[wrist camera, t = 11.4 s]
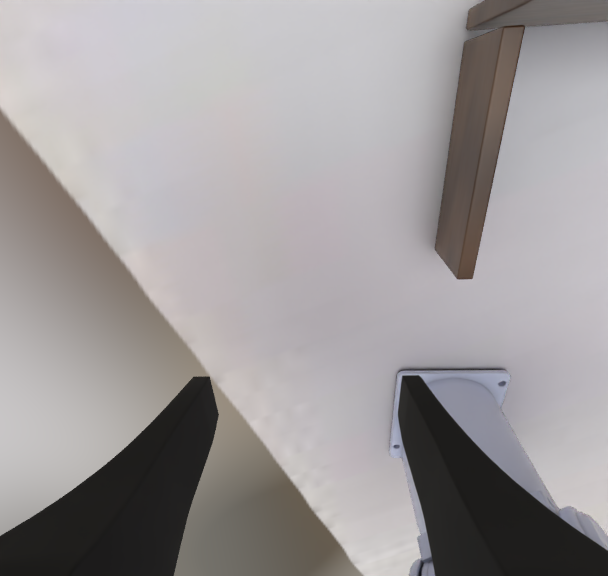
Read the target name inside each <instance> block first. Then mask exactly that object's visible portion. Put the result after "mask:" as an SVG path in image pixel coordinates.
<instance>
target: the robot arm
mask: <svg viewBox="0 0 608 576" xmlns="http://www.w3.org/2000/svg"><path fill="white" fill-rule="evenodd" d="M510 378H511V376H510V374H509V373H508V371H506V370H424V371H401V372H399V373H398V374H397V380H396V389H395V399H394V408H393V418H392V427H391V437H390V446H389V453H390V456H391V457H393V458H402V460H403V464H404V469H405V473H406V477H407V482H408V486H409V491H410V495H411V500H412V504H413V509H414V513H415V517H416V522H417V525H418V528H419V531H420V534H421V535H420V536H418V537H417V539H418V544H419V548H420V553H421V557H422V558H421V559H418V560H416V561H415V562H414V563H413V565H412V567H411V569H410V573H409V576H608V536H607V535H606V533H605V532H604V531H603V530H602V528H601V527H600V526H599V525H598V524H597V522H596V521H595V520H594V519H593V518H592V517H590V516H589V515H586V514H584V513H582V512H579V511H577V510H576V509H575V508H573V507H571V506H568V507H565V508H562V509H559V508H558V507H557V505H556V504H555V502H554V500H553V499H552V497H551V495H550V493H549V492H548V490H547V488H546V486H545V485H544V483H543V481H542V480H541V478H540V476H539V474H538V473H537V471H536V469H535V467H534V466H533V464H532V462H531V460H530V459H529V457H528V455H527V454H526V452H525V450H524V448H523V447H522V445H521V443H520V441H519V440H518V438H517V436H516V435H515V433H514V431H513V429H512V428H511V426H510V424H509V422H508V421H507V419H506V417H505V416H504V414H503V412H502V410H501V407H502V404H503V400H504V397H505V394H506V391H507V388H508V385H509V381H510ZM501 381H502V382H501ZM218 415H219V414H218V410H217V406H216V402H215V397H214V393H213V389H212V385H211V380H210V377H193V378H192V379H191V380H190V381H189V383H188V384H187V385H186V386H185V387H184V388H183V389H182V390H181V391H180V393H179V394H178V395H177V396H176V397H175V398H174V399H173V400H172V401H171V402H170V404H169V405H168V406H167V407H166V408H165V409H164V410H163V411H162V412H161V413H160V414H159V415H158V416H157V417H156V418H155V420H153V422H152V423H151V424H150V425H149V426H148V427H146V428H145V430H144V431H142V432H141V433H140V434H139V435H138V436H137V437H136V438H135V439H134V440H133V441H132V442H131V443H130V444H129V445H128V446H127V447H126V448H124V450H122V451H121V452H120V453H119V454H118V455H116V456H115V457H114V458H113V459H112V460H111V461H110V462H108V463H107V464H106V465H105V466H103V467H102V468H101V469H99V470H98V471H97V472H96V473H94V474H93V475H92V476H90V477H89V478H88V479H86V480H85V481H84V482H82V483H81V484H80V485H78V486H77V487H76V488H74V489H73V490H72V491H70V492H69V493H67V494H66V495H65V496H63V497H62V498H60V499H59V500H58V501H56V502H54V503H53V504H51V505H50V506H48V507H47V508H45V509H44V510H42V511H41V512H39V513H37V514H36V515H34V516H33V517H31V518H30V519H28V520H26V521H25V522H23V523H21V524H20V525H18V526H16V527H15V528H13V529H11V530H10V531H8V532H6V533H4V534H3V535H1V536H0V576H174V572H175V567H176V563H177V558H178V554H179V550H180V545H181V541H182V537H183V533H184V529H185V525H186V521H187V517H188V513H189V510H190V507H191V504H192V500H193V497H194V495H195V492H196V489H197V486H198V483H199V480H200V477H201V474H202V472H203V469H204V466H205V463H206V460H207V457H208V454H209V451H210V448H211V445H212V442H213V438H214V434H215V430H216V424H217V420H218Z"/></svg>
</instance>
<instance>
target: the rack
mask: <svg viewBox="0 0 608 576" xmlns="http://www.w3.org/2000/svg"><path fill="white" fill-rule="evenodd" d="M605 21H608V0H484V1H482V2H481V3H479V4H477V5H476V6H474V7H472V8H471V9H469V13H468V20H467V27H466V29H467V30H482V29H496V30H493V31H491V32H488V33H486V34H483V35H481V36H478V37H476V38H473V39H470V40H468V41H466V42H465V43H464V48H463V55H462V62H461V69H460V76H459V83H458V90H457V97H456V104H455V111H454V118H453V125H452V132H451V139H450V146H449V153H448V160H447V167H446V174H445V181H444V188H443V195H442V202H441V209H440V216H439V223H438V230H437V237H436V244H435V250H436V252H437V253H438V254H439V256H440V257H441V258H442V260H443V261H444V262H445V264H446V265H447V266H448V268H449V269H450V270H451V272H452V273H453V274H454V276H455V277H456V278H457V279H472V278H473V274H474V270H475V265H476V260H477V255H478V250H479V246H480V241H481V236H482V231H483V226H484V221H485V217H486V212H487V207H488V202H489V197H490V193H491V188H492V183H493V178H494V173H495V169H496V164H497V159H498V154H499V149H500V144H501V140H502V135H503V130H504V125H505V120H506V116H507V111H508V106H509V101H510V96H511V92H512V87H513V82H514V77H515V72H516V67H517V63H518V58H519V53H520V48H521V43H522V39H523V34H524V29H525V27H528V26H543V25H559V24H574V23H590V22H605ZM497 28H499V29H497Z"/></svg>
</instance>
